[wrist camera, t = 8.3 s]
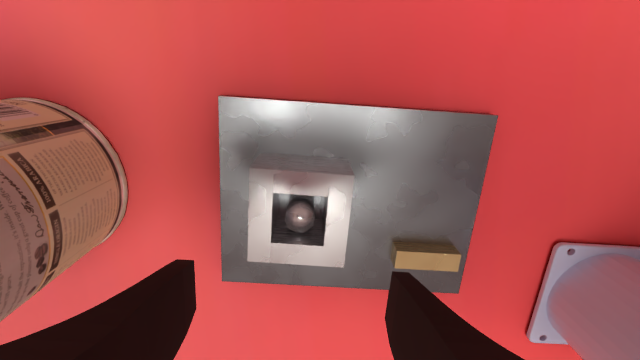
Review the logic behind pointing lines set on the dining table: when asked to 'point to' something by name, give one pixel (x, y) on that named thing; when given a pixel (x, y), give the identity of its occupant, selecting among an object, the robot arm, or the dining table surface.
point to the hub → (302, 179)
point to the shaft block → (360, 187)
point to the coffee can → (52, 194)
